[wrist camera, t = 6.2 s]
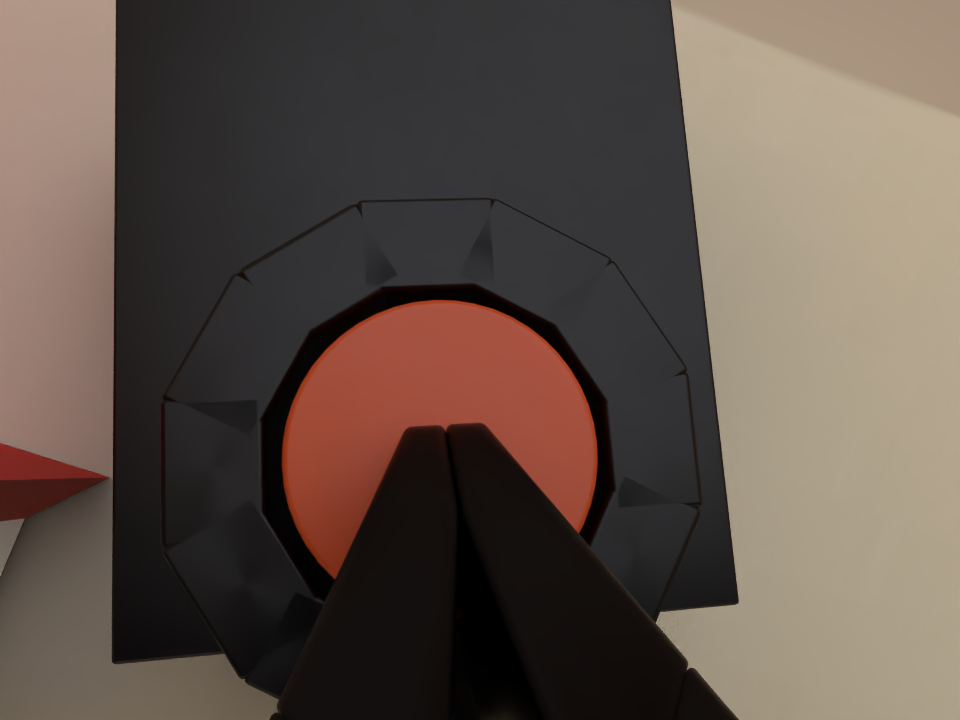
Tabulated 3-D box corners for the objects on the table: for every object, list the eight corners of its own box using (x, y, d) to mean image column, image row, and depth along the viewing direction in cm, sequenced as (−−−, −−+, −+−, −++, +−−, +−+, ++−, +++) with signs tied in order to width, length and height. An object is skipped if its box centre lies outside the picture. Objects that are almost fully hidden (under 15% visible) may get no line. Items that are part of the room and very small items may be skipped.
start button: (564, 574, 10) (612, 604, 8) (310, 597, 10) (285, 635, 8) (545, 329, 11) (585, 293, 9) (302, 340, 10) (276, 304, 8)
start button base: (636, 598, 16) (826, 699, 9) (206, 638, 14) (35, 790, 8) (592, 132, 17) (724, -94, 10) (200, 135, 16) (54, -116, 9)
